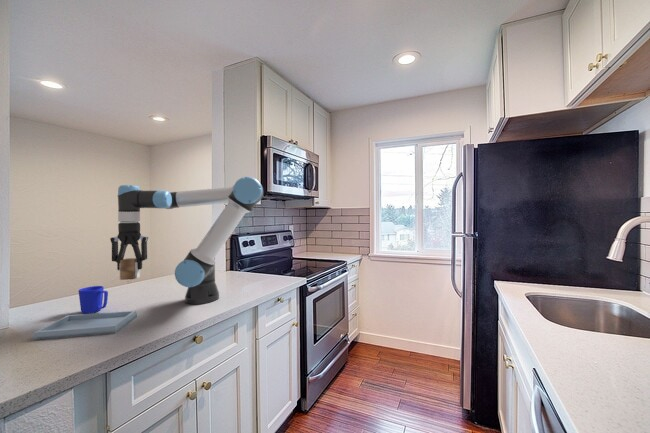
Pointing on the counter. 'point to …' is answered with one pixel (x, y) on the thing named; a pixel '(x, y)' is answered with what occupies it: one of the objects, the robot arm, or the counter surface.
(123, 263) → the walnut block
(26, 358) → the counter surface
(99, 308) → the mug
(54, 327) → the tray
